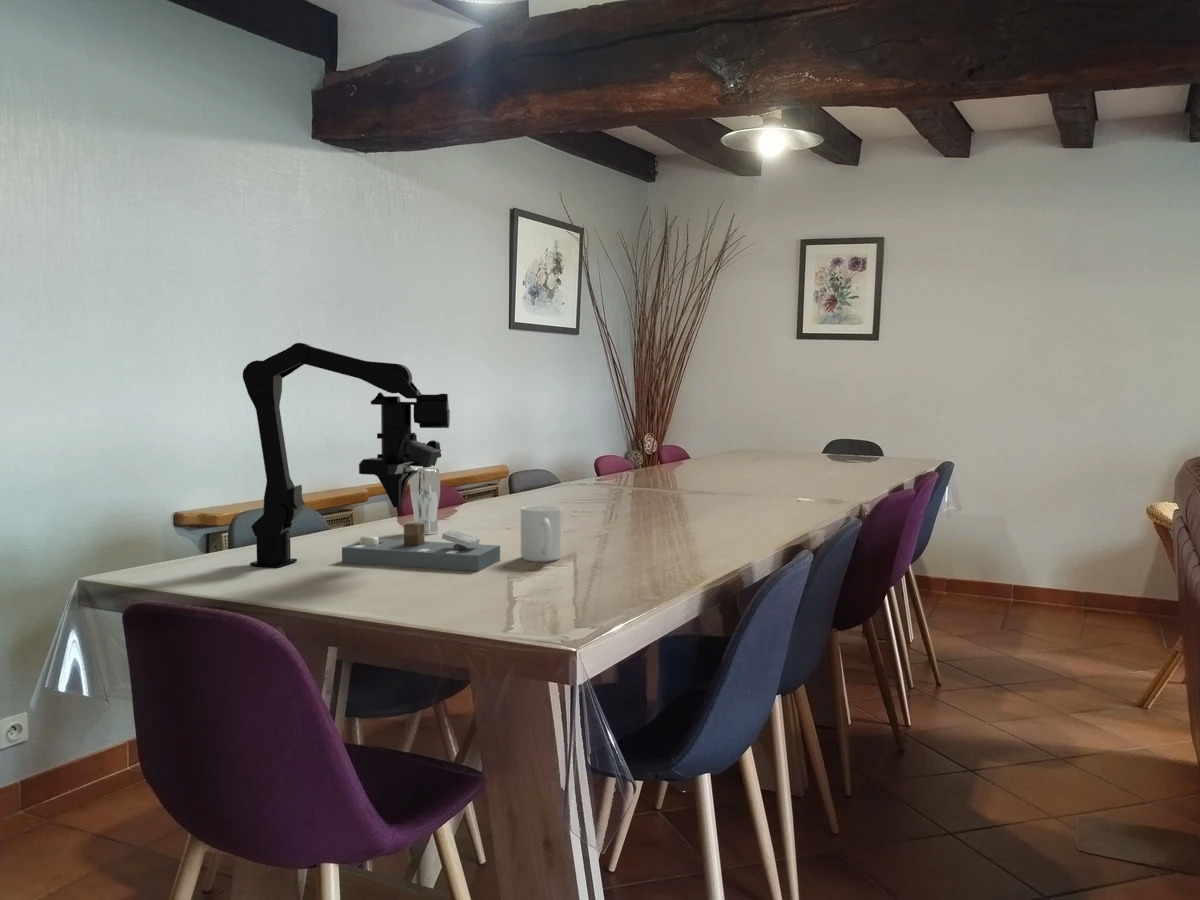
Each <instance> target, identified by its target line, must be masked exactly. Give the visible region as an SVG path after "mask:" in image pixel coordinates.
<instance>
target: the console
mask: <svg viewBox="0 0 1200 900" xmlns="http://www.w3.org/2000/svg"><path fill="white" fill-rule="evenodd" d="M500 561H501V545H496V544H480V543H479V544H477V545H475V546H473V547H470V548H468V547H465V546H463V545H460V544H457V543H454V542H442V541H425V540H424V543H423V544H420V545H404V539H392V538H391V539H388V538H379V544H378V545H376V546H366V545H360V541H358V542H355V543H352V544H348V545H346V546H343V547H341V563H343V564H357V565H359V564H360V565H376V566H377V565H378V566H390V567H402V568H403V567H405V568H406V567H407V568H419V569H420V568H424V569H434V570H437V569H439V570H452V571H454V570H455V571H465V572H466V571H467V572H470V571H471V572H480V571H482V570H485V569H486V568H488V567H490V566H492V565H494V564H495V563H498V562H500Z"/></svg>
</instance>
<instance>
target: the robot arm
mask: <svg viewBox="0 0 1200 900" xmlns="http://www.w3.org/2000/svg"><path fill="white" fill-rule="evenodd" d="M305 365H306V366H310V367H314V368H318V369H322V370H326V371H330V372H333V373H338V374H339V375H340V374H341V375H345V376H349V377H352V378H356V379H360V380H362V381H364V382H365V383H368V384H369V385H372V386H374V387H376V388H378V389H381V390H383V391H384V392H387V393H390V394H399V395H400V396H402V397H403V398H405V399H409V400H410V399H412V400H413V399H415V400H416V401H401V397H400V396H397V395H395V396H394V395H392V396H390V395H385V394H383V393H382V392H378V393H377V395H376V396H375V397H374V398H373V399H372V400H370V405H372V406H373V405H375V406H377V405H378V406H379V405H380V407H381V408H380V411H381V412H380V417H381V418H380V419H381V420H380V422H381V425H380V426H381V427H380V428H381V429H380V430H381V432H380V433H379V432H378V433H377V434H376V439H380V440H381V442H380V443H381V445H380V446H381V453H380V454H379V453H378V454H377V456H376V457H371V458H364V459H362V460H361V461H360V462H359V463H358V474H359V475H370V476H371V475H372V476H376V477H377V478H378V480H379V481H380V484H381V485H382V487H383V488H384V491H385V492H386V494H387V497H388V499H389V500H390V503H391V505H392V507H393V508H400V507H401V504H402V503H403V499H404V495H405V492H406V489H407V486H408V484H409V481H410V478H411V477H412V476H413V475H414V474H416V473H417V472H418V471H412V469H413V467H421V468H431V467H435V466H436V464H437V462H438V458H442V453H441V452H442V450H441V443H440V442H439V441H438V440H437V441H436V440H429V441H428V442H427V443H426V442H420V441H417V440H418V439H417V434H416V432H412V406H413V422H414V423H415V424H418V425H419V428H420V429H449V428H450V422H451V421H450V419H451V417H450V416H451V415H450V414H451V410H450V408H449V407H450V406H449V405H450V404H449V395H448V393H438V394H422V392H420V389H418V387H417V386H416V385H415V383H414V382H413V376H412V375H413V374H412V372H411V370H410V369H409V368H408V367H407V366H406V365H403V364H400V363H392V362H381V361H380V362H379V361H369V360H363V359H360V358H356V357H353V356H348V355H344V354H341V353H338V352H334V351H329V350H326V349H323V348H322V349H321V348H319V347H314V346H312V345H309V344H308V343H303V342H296V343H293V344H292V345H291V346H289V347H287V348H286V349H283V350H282V351H280V352H278V353H275V354H274V355H271V356H270V357H268V358H266V359H264V360H253V361H251V362H249V363H247V365H246V366H245V367H244V368H243V369H242V370H243V371H242V380H243V383H244V386H245V389H246V391H247V394H248V396H249V398H250V400H251V402H252V404H253V406H254V409H255V412H256V418H257V419H256V420H257V426H258V432H259V438H260V445H261V451H262V458H263V465H264V471H265V478H266V484H265V490H264V496H263V514H262V515H261V516H260V517H258V519H257V520H256V521H255V522H253V524H252V525H251V526H250V527H251V529H252V530H251V531H252V532H253V535H254V536H255V542H256V560H255V561H251V562H250V563H249V565H250V566H255V567H256V566H257V567H269V568H270V567H272V568H280V567H283V566H286V565H290V564H292V563H295V562H297V561H298V558H291V556H292V555H291V537H290V531H291V530H290V529H291V527H292V526H293V523H294V522H295V521H296V520H298V518H299V517H300V516H301V514H302V511H303V506H305V505H306V503H305V501H304V499H303V486H302V484H299V485H295V484H294V483H293V480H292V478H291V475H290V470H289V469H290V467H289V463H288V455H287V449H286V443H285V437H284V430H283V429H284V428H283V423H282V416H281V409H280V403H281V399H282V398H281V397H282V393H283V379H284V378H285V377H287V376H289V375H291V374H293V373H294V372H295V371H296V370H298V369H299V368H301V367H303V366H305Z"/></svg>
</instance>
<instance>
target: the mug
mask: <svg viewBox="0 0 1200 900" xmlns="http://www.w3.org/2000/svg"><path fill="white" fill-rule="evenodd" d="M562 511H563V510H562V507H561V506H558V505H557V506H556V505H549V504H548V505H547V504H546V505H545V504H541V505H539V504H536V505H525V506H521V507H520V557H521V558H522V559H523V560H524V561H528V562H537V563H539V562H540V563H541V562H542V563H543V562H544V563H545V562H553V561H558V560H560V558H561V556H562V547H563V545H562V541H563V540H562V535H563V534H562V529H563V527H562V515H563V514H562V513H563V512H562Z"/></svg>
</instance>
